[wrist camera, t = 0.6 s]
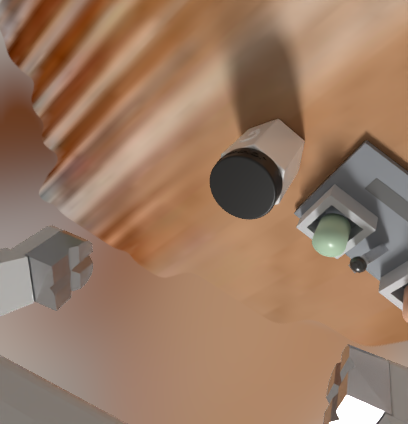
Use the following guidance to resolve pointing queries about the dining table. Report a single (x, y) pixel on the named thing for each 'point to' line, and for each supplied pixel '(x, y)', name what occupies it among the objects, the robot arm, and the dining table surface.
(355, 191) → the panel
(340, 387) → the robot arm
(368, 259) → the ball-tipped lever
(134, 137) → the dining table surface
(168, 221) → the dining table surface
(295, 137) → the jar
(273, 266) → the dining table surface
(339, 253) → the green button
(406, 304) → the terracotta button
